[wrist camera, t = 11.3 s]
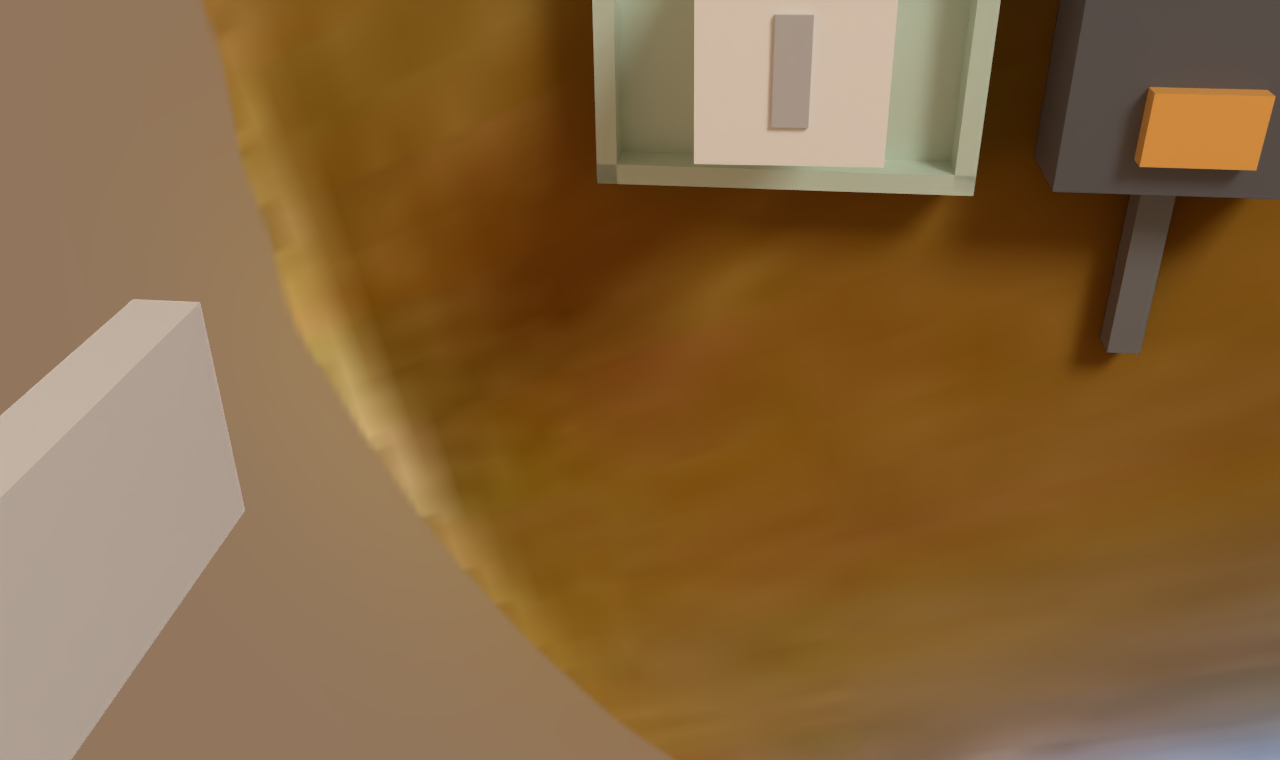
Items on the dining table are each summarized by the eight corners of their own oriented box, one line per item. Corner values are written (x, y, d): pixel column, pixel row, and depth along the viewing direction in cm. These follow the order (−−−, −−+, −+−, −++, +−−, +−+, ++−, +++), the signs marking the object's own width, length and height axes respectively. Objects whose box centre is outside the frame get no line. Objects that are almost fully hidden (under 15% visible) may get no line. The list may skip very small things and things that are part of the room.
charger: (864, 62, 34) (883, 168, 26) (717, 60, 34) (693, 165, 26) (875, -95, 32) (901, -31, 24) (719, -94, 32) (693, -31, 24)
